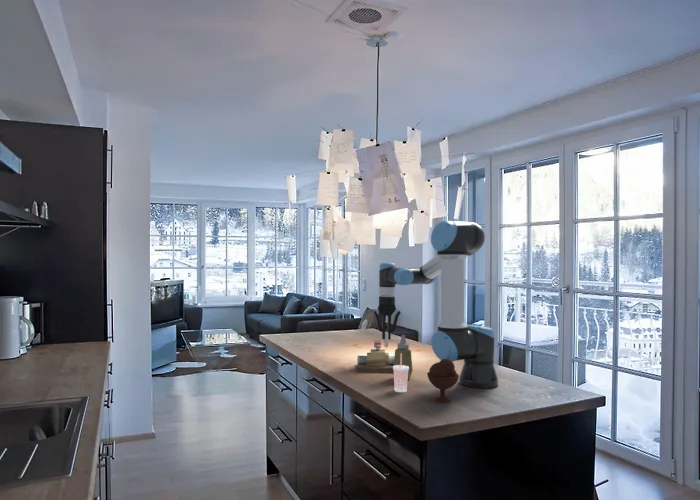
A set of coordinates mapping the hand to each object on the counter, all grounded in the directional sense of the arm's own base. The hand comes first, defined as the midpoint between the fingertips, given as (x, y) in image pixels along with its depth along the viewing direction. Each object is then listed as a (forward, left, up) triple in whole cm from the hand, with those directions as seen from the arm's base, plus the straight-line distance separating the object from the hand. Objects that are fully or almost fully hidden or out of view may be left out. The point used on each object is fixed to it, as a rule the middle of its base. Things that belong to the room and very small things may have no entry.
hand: (386, 346), depth 240 cm
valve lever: (-4, +4, 0) cm, 6 cm away
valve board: (-10, +4, -8) cm, 14 cm away
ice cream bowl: (-57, -18, -8) cm, 60 cm away
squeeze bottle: (-27, -6, -8) cm, 29 cm away
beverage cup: (-45, -4, -8) cm, 46 cm away
